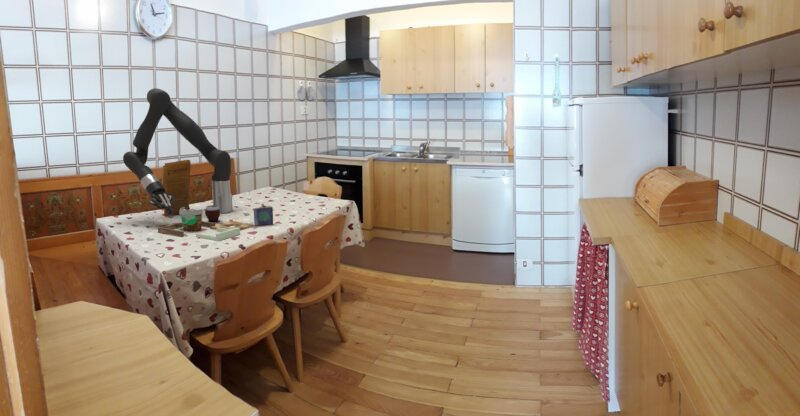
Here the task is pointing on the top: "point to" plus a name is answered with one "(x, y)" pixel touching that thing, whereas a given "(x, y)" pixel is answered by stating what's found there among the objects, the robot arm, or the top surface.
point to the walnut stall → (169, 228)
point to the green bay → (221, 234)
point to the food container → (191, 219)
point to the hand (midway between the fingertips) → (172, 213)
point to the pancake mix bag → (177, 183)
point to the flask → (263, 215)
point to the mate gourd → (213, 212)
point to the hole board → (234, 223)
